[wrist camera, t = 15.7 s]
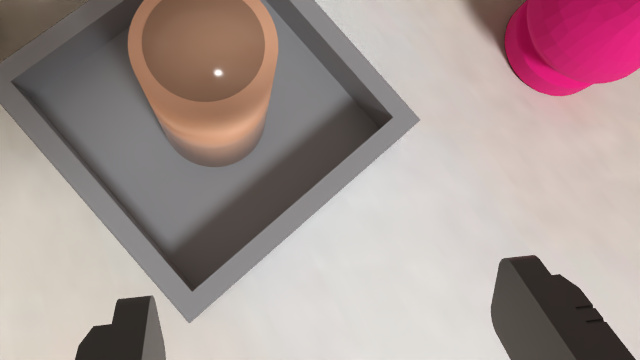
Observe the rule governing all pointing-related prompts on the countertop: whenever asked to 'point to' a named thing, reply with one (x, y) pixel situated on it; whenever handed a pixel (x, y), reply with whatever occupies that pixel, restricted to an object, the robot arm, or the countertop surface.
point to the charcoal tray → (189, 178)
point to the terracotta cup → (206, 73)
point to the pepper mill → (573, 43)
